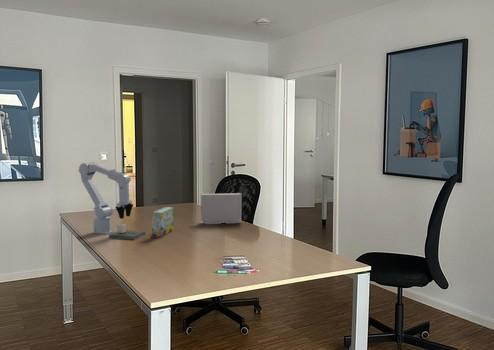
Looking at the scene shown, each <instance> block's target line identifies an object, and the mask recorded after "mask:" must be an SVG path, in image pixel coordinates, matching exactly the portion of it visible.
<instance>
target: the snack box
mask: <svg viewBox="0 0 494 350" xmlns="http://www.w3.org/2000/svg"><path fill="white" fill-rule="evenodd" d="M151 214H152V215H151V216H152V217H151V218H152V222H151V224H152V225H151V238H154V239H155V238H156V239H157V238H158V239H160V238H162V237H164V236H165V235H167V234H169V233H171V232H173V230H174V224H173V223H174V207H170V206H165V207H162V208H160V209H157V210H155V211H153V212H152V213H151Z"/></svg>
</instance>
